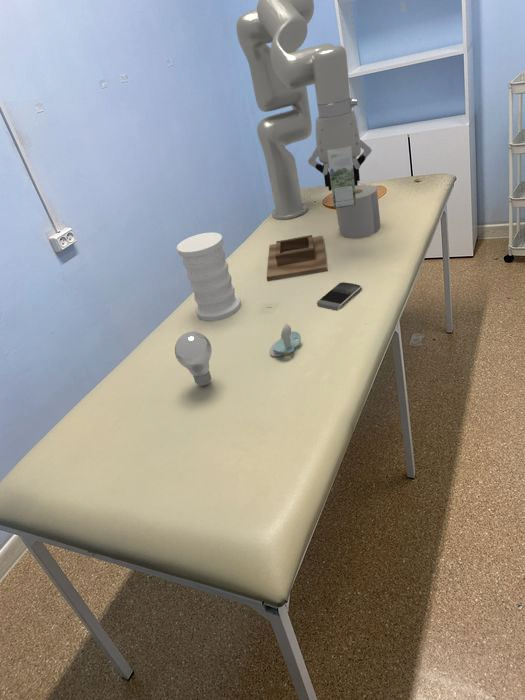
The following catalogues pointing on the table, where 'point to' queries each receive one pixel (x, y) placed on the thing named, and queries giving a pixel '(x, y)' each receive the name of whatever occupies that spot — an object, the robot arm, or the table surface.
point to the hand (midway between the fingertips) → (342, 185)
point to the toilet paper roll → (360, 214)
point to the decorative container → (209, 276)
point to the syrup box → (342, 177)
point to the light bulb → (195, 356)
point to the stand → (296, 257)
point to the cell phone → (339, 296)
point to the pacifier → (285, 342)
